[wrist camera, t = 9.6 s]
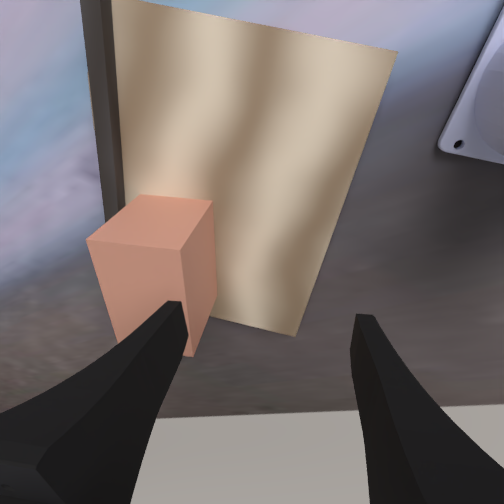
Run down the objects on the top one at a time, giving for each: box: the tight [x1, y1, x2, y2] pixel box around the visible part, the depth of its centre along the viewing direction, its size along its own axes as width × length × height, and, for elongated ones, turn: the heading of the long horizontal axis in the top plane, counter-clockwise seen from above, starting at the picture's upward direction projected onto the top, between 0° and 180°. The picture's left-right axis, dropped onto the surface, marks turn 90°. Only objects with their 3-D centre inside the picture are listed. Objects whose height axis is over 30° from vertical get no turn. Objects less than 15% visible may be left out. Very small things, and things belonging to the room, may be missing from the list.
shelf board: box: [80, 0, 398, 337], centre depth 21 cm, size 15×20×2 cm
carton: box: [86, 194, 217, 357], centre depth 20 cm, size 5×8×6 cm, turn 178°
